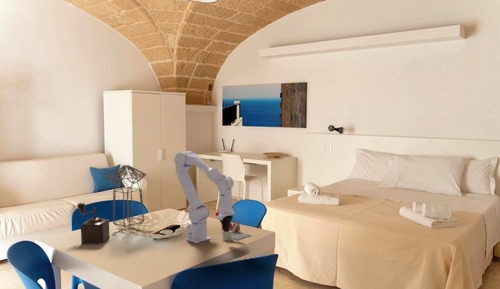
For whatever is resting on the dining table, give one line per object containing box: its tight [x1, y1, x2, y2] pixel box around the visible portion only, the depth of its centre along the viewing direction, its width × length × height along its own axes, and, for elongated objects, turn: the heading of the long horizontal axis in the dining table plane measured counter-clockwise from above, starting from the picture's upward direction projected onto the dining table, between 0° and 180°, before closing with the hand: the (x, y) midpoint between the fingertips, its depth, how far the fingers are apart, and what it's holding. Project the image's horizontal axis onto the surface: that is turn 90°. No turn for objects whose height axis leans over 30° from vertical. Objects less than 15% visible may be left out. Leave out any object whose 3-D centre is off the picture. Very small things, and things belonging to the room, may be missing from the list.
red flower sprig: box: [215, 210, 241, 232], centre depth 211 cm, size 3×14×10 cm, turn 58°
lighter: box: [222, 224, 237, 241], centre depth 196 cm, size 7×2×8 cm, turn 86°
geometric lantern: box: [106, 164, 147, 233], centre depth 211 cm, size 16×16×35 cm
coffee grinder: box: [76, 202, 111, 245], centre depth 196 cm, size 16×11×18 cm
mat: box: [232, 231, 252, 241], centre depth 202 cm, size 10×10×1 cm
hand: (226, 231), depth 190 cm, fingers closed
